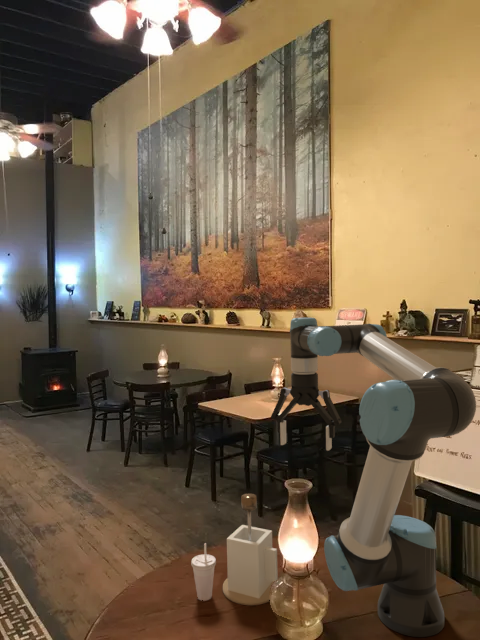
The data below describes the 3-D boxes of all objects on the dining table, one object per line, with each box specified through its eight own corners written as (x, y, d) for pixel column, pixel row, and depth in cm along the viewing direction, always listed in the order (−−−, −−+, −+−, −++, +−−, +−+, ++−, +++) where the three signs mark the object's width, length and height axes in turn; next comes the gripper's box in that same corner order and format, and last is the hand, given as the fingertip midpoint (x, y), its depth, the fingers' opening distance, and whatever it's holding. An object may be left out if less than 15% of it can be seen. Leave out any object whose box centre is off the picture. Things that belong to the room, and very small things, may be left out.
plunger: (265, 574, 137) (263, 494, 136) (255, 585, 132) (254, 502, 131) (245, 569, 140) (243, 491, 139) (236, 580, 134) (234, 498, 134)
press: (287, 580, 139) (286, 528, 139) (265, 611, 126) (263, 553, 125) (238, 568, 146) (237, 518, 145) (212, 596, 133) (211, 541, 132)
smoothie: (213, 605, 129) (211, 550, 128) (189, 602, 130) (187, 548, 130) (219, 590, 135) (218, 538, 135) (196, 588, 136) (194, 537, 136)
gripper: (351, 372, 142) (352, 447, 143) (269, 368, 153) (270, 438, 154) (344, 376, 135) (345, 455, 136) (258, 372, 146) (260, 445, 147)
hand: (305, 446), depth 145 cm, fingers open, 13 cm apart
